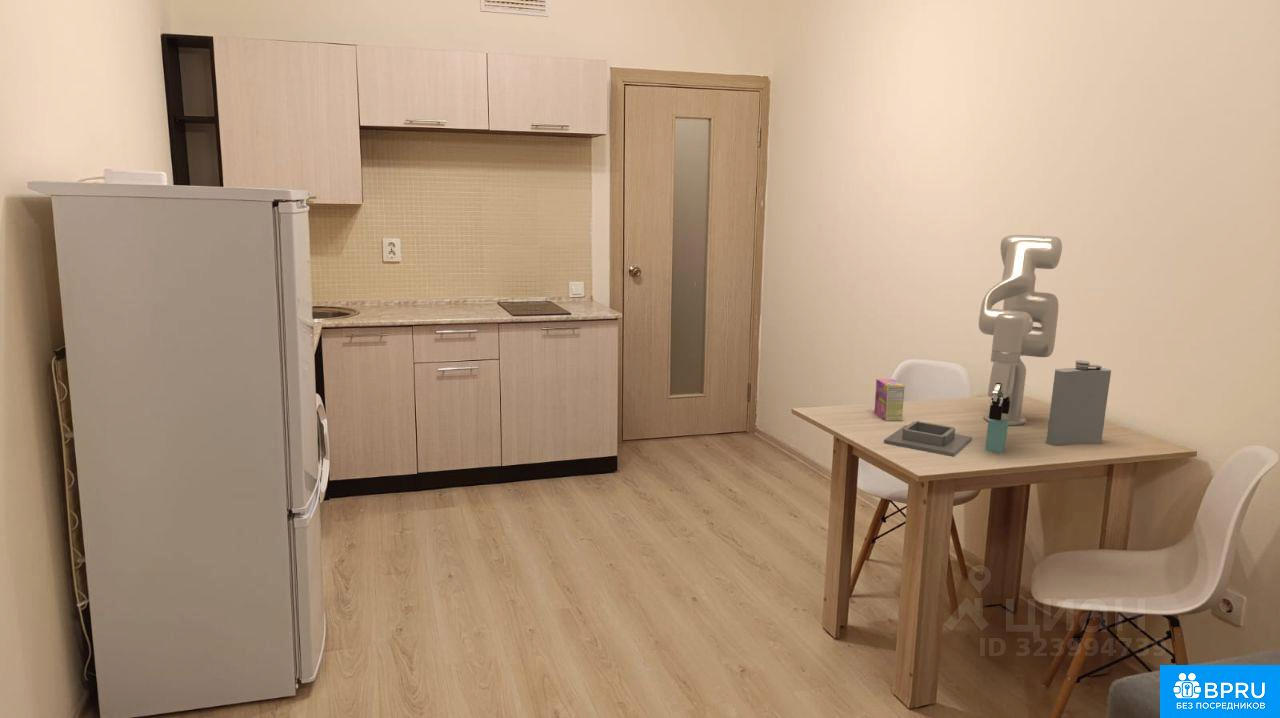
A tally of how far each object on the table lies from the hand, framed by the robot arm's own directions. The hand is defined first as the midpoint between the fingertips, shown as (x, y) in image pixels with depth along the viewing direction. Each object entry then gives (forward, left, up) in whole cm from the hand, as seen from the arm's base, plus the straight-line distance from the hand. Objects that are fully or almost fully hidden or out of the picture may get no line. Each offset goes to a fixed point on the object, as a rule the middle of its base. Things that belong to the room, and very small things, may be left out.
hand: (998, 416), depth 240 cm
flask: (-24, +17, -11) cm, 31 cm away
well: (+3, -18, -10) cm, 21 cm away
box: (-17, -37, -11) cm, 42 cm away
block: (-1, 0, -10) cm, 10 cm away
